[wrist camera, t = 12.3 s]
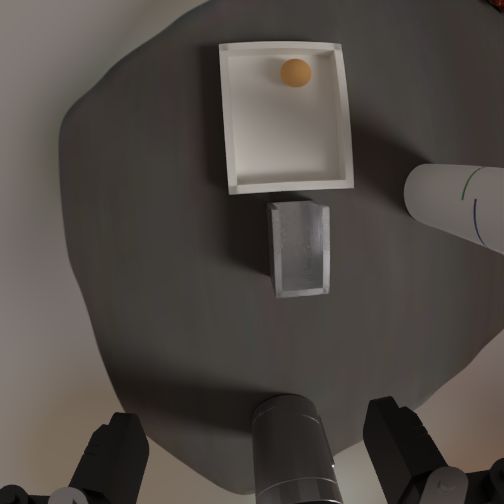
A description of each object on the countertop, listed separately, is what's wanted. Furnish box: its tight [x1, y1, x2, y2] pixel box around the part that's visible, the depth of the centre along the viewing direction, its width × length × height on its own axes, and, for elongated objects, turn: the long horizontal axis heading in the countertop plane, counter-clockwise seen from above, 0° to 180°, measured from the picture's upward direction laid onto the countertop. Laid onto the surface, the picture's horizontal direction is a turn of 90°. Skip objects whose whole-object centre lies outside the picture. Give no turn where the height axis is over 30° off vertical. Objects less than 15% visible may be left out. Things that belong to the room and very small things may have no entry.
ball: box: [280, 59, 311, 87], centre depth 26 cm, size 3×3×3 cm
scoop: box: [266, 200, 330, 298], centre depth 30 cm, size 8×5×6 cm, turn 4°
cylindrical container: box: [404, 164, 504, 254], centre depth 20 cm, size 7×7×25 cm
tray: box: [219, 41, 354, 195], centre depth 28 cm, size 15×12×3 cm
